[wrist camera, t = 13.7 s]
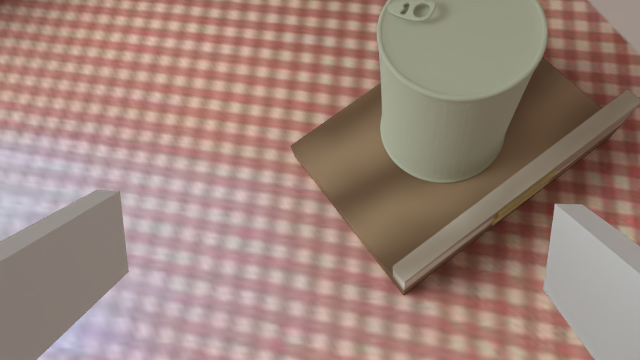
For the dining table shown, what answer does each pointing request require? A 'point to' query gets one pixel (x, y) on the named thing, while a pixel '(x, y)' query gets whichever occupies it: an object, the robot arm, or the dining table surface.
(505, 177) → the shelf
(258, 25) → the dining table surface
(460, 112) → the can
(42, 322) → the robot arm
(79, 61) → the dining table surface
